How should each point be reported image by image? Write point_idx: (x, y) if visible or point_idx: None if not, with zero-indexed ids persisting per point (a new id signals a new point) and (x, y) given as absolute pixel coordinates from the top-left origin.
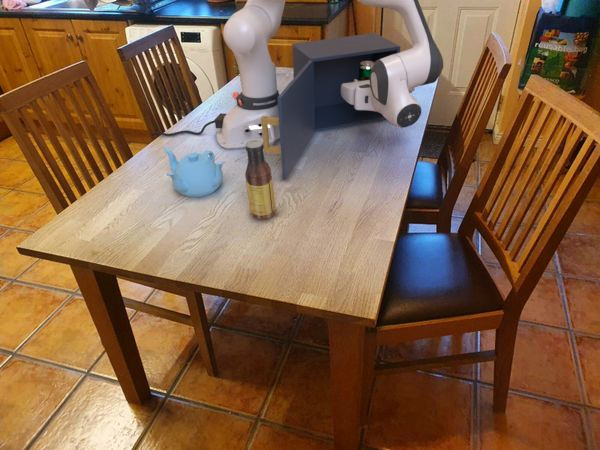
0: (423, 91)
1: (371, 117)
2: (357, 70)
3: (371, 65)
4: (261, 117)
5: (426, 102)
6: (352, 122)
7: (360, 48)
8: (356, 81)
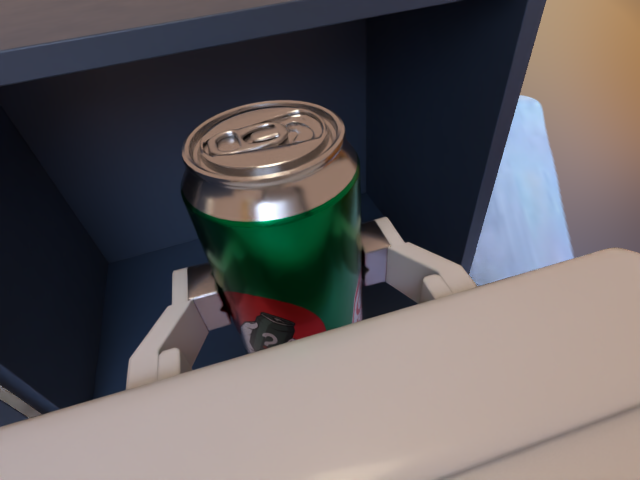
0: (530, 149)
1: (365, 317)
2: None
3: (294, 177)
4: None
5: (559, 203)
6: None
7: None
8: (161, 332)
